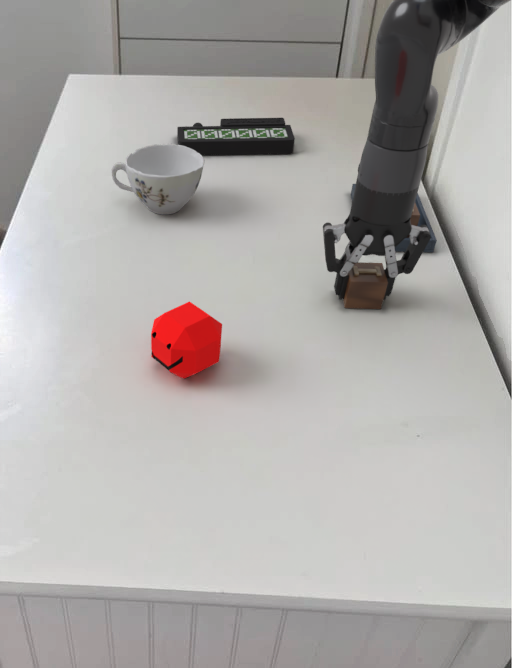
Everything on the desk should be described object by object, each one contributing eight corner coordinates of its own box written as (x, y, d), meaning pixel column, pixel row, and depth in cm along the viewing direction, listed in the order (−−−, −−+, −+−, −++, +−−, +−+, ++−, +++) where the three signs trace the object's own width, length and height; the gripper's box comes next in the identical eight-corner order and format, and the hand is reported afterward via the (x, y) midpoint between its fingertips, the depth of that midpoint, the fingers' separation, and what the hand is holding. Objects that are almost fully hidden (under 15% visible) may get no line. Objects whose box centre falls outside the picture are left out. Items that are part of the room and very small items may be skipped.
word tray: (411, 196, 121) (414, 184, 119) (433, 252, 109) (437, 240, 107) (350, 195, 121) (352, 183, 120) (365, 251, 109) (367, 238, 108)
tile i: (375, 289, 102) (382, 260, 99) (381, 309, 99) (388, 280, 95) (340, 288, 102) (346, 259, 99) (344, 308, 99) (350, 279, 96)
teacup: (207, 192, 123) (209, 144, 117) (196, 228, 114) (198, 178, 109) (121, 185, 125) (119, 138, 119) (105, 220, 117) (101, 171, 111)
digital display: (288, 114, 137) (295, 137, 130) (286, 132, 139) (293, 155, 133) (177, 116, 137) (178, 139, 130) (176, 133, 139) (178, 157, 133)
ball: (141, 361, 92) (140, 311, 86) (190, 338, 95) (191, 288, 89) (181, 394, 87) (182, 343, 82) (230, 368, 90) (234, 317, 85)
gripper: (333, 189, 86) (311, 310, 98) (455, 191, 85) (418, 313, 97) (326, 162, 91) (307, 280, 103) (442, 164, 90) (408, 283, 102)
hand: (361, 296), depth 100 cm, fingers closed on tile i, 5 cm apart
